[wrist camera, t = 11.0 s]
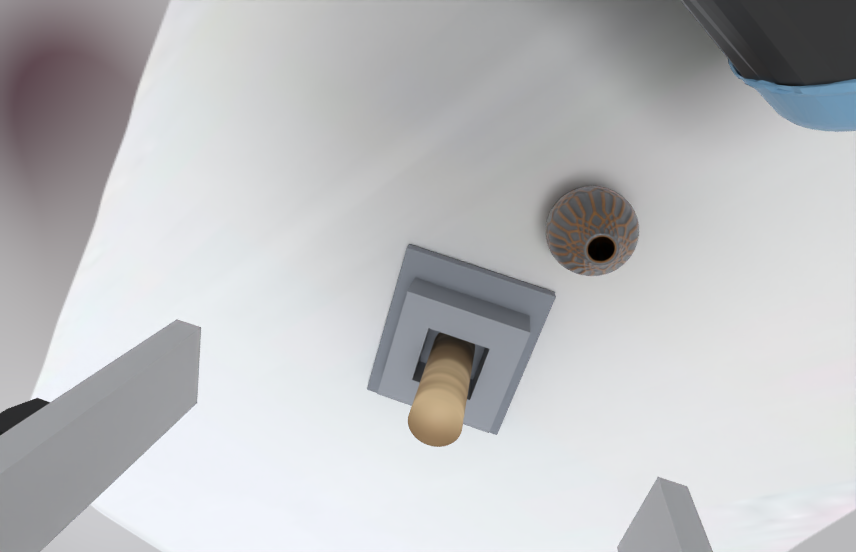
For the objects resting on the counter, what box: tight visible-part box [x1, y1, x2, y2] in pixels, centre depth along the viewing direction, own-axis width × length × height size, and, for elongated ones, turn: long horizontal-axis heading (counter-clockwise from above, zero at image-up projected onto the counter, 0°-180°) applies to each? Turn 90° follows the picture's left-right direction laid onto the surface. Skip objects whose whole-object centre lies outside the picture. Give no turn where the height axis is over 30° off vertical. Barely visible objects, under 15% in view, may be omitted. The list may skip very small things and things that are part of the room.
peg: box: [408, 332, 475, 447], centre depth 41 cm, size 4×4×12 cm
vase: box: [546, 186, 639, 276], centre depth 38 cm, size 7×7×9 cm
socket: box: [367, 244, 556, 435], centre depth 45 cm, size 16×14×5 cm
